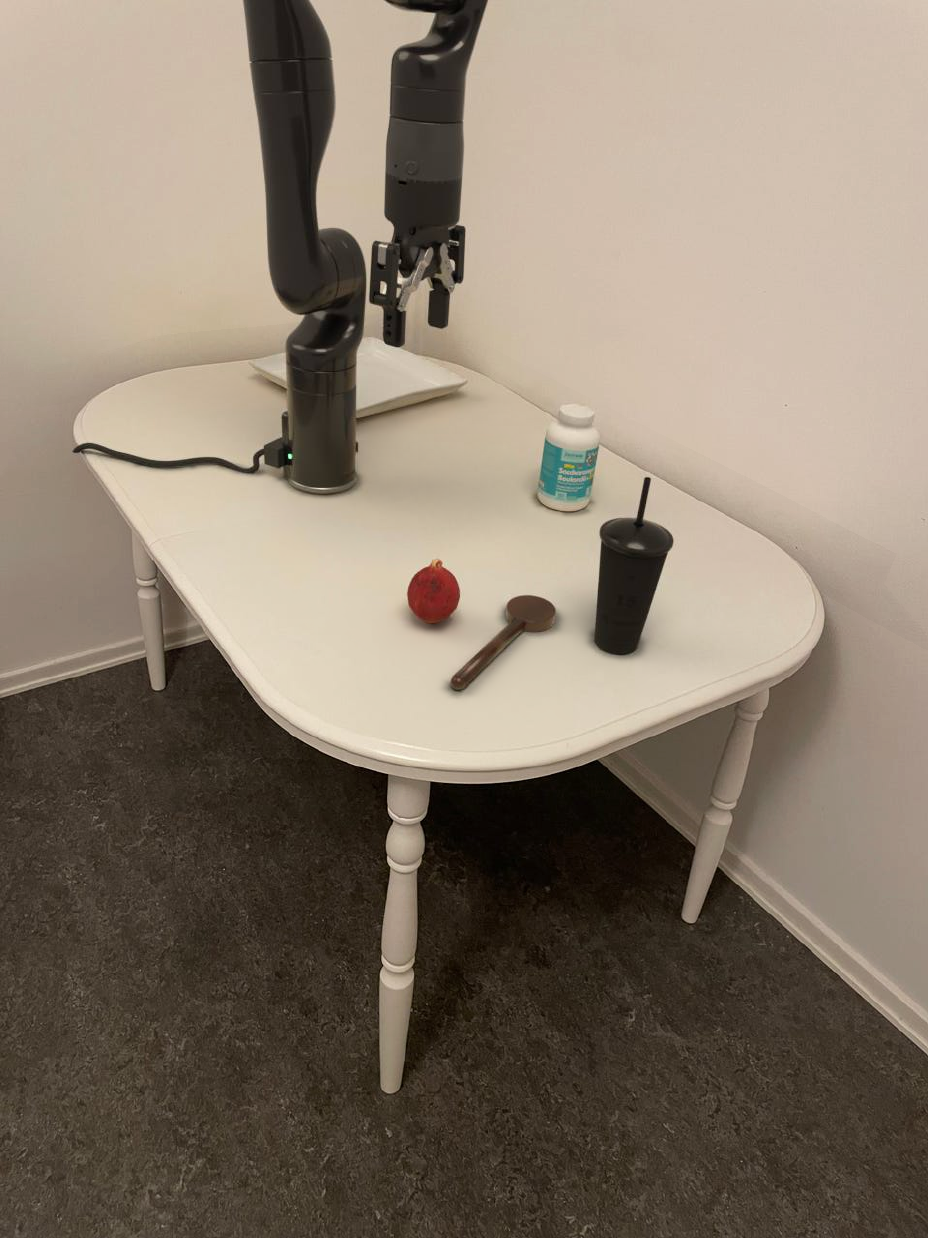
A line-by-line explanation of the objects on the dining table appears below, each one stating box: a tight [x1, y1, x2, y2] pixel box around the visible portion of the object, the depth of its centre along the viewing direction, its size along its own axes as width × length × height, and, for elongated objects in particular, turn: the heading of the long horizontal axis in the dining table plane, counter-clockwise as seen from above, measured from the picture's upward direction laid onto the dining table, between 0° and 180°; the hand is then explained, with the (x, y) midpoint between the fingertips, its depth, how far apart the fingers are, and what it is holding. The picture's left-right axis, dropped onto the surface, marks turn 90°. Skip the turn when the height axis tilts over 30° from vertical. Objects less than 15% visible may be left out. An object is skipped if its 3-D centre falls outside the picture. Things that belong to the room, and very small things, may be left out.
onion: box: [406, 558, 461, 624], centre depth 105 cm, size 6×6×8 cm
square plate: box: [248, 336, 469, 419], centre depth 164 cm, size 27×27×4 cm
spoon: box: [450, 594, 557, 691], centre depth 104 cm, size 6×20×2 cm, turn 149°
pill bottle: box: [536, 403, 601, 512], centre depth 131 cm, size 8×7×14 cm
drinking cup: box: [593, 476, 675, 656], centre depth 101 cm, size 8×8×20 cm
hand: (416, 335), depth 102 cm, fingers open, 8 cm apart
